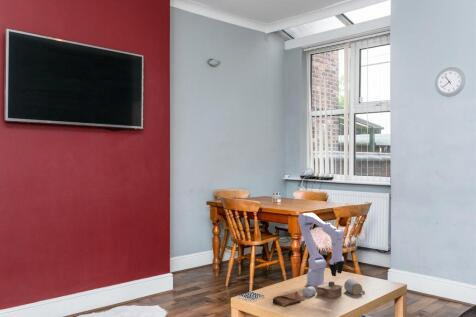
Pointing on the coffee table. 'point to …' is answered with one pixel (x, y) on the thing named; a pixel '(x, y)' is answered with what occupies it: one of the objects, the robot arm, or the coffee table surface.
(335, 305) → the coffee table surface
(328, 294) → the keepsake box
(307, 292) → the white rounded piece
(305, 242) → the robot arm
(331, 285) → the lid
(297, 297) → the sunglasses case
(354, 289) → the ceramic mug
